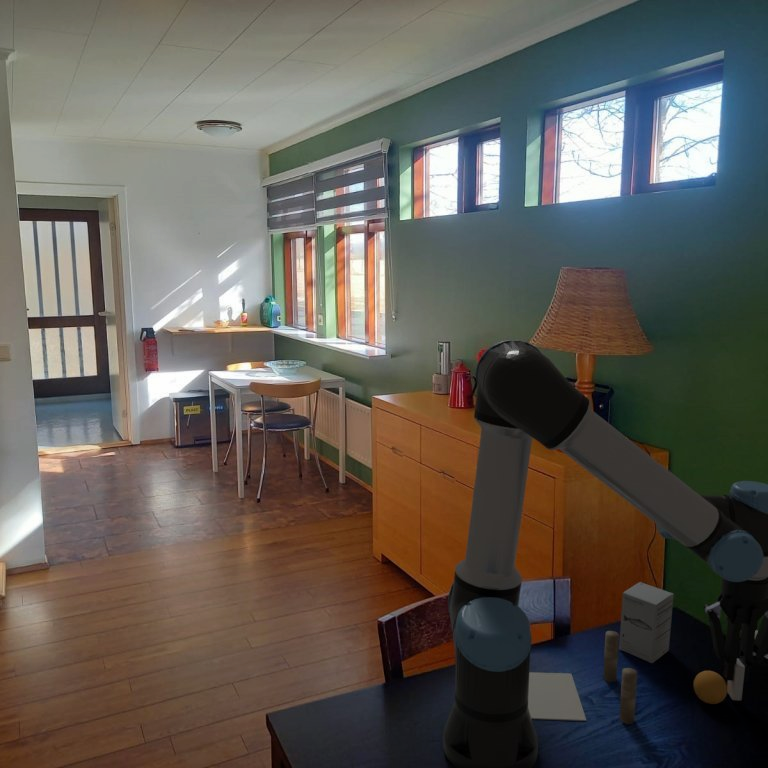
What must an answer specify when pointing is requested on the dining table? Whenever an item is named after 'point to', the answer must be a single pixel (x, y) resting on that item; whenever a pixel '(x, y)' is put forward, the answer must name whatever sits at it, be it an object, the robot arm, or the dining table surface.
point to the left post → (611, 656)
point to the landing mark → (554, 697)
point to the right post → (628, 695)
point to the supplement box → (646, 621)
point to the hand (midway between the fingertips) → (734, 695)
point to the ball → (710, 687)
